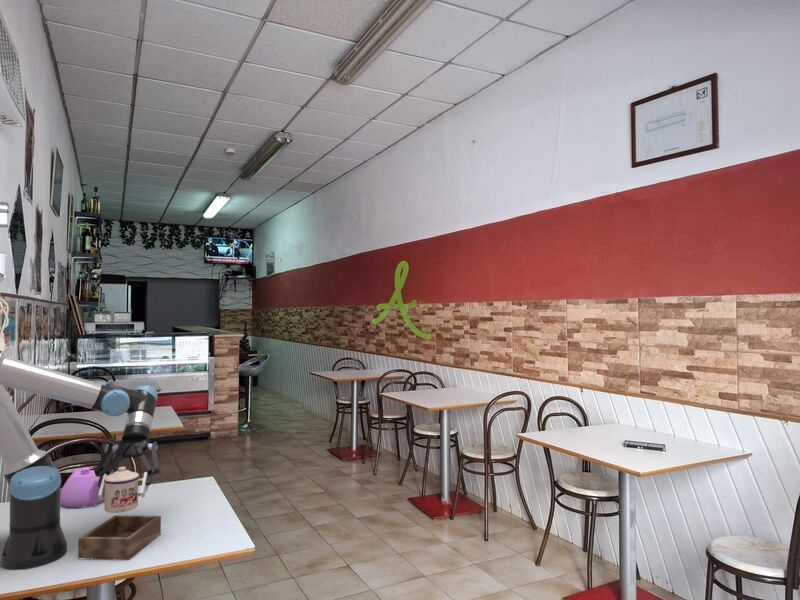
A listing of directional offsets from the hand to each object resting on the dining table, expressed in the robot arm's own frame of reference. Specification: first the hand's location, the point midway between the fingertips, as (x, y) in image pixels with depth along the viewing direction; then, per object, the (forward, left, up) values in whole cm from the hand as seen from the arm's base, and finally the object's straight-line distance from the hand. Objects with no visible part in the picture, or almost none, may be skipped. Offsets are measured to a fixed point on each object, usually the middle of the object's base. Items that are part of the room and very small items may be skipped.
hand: (121, 496), depth 156 cm
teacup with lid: (0, +3, -4) cm, 5 cm away
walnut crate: (-1, +2, -15) cm, 15 cm away
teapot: (-36, +39, -15) cm, 56 cm away
